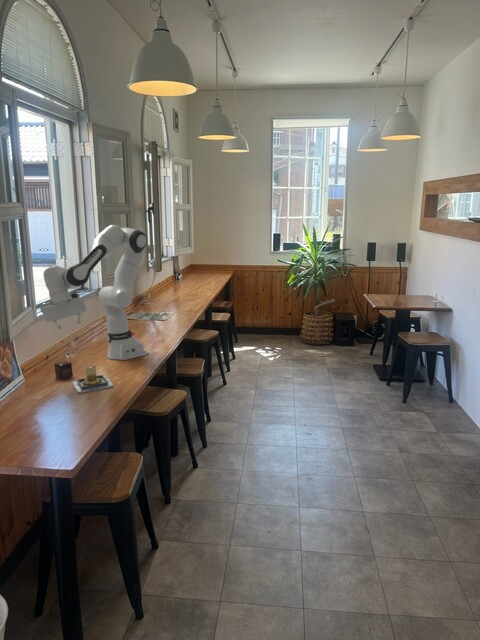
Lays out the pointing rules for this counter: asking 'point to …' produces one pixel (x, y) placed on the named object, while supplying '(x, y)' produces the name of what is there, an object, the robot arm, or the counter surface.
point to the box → (63, 369)
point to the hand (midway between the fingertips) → (69, 326)
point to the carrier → (84, 389)
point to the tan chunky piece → (91, 376)
